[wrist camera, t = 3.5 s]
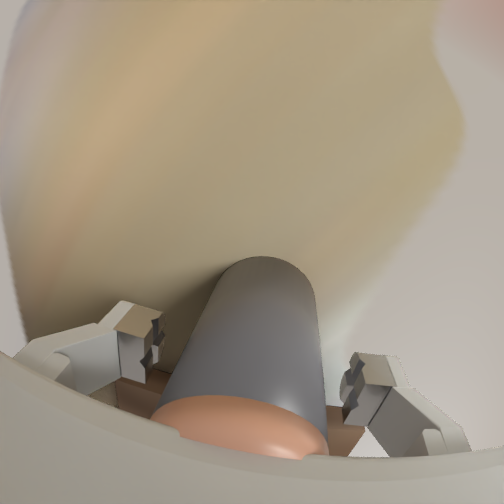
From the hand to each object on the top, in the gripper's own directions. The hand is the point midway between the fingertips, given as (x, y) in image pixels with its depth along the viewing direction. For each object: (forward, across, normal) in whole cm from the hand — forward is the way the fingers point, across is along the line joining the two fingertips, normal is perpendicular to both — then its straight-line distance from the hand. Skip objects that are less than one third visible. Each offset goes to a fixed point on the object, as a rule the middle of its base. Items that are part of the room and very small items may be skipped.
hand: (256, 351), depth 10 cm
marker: (+3, 0, 0) cm, 3 cm away
